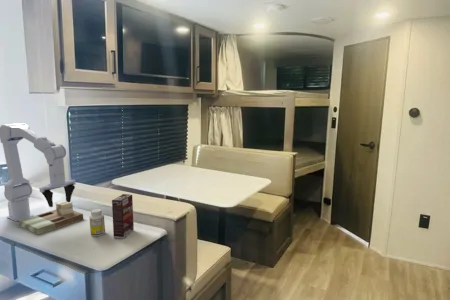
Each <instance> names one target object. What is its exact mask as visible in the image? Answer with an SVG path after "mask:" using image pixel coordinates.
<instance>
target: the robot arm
mask: <svg viewBox="0 0 450 300" xmlns="http://www.w3.org/2000/svg"><path fill="white" fill-rule="evenodd" d="M23 139H25V140H27V141H29V142H30V143H32V144H33V148H35V149H37V151H38V152H39V151H40V152H41V154H43V156H44V158H45V159H46V163H47V165H48V172H49V173H48V174H49V182H50V183H49V184H45V185H43V186H39V187H38V189H39V192H40V193H41V194H42V195H43V196H44V198H45V200H46V202H47V204H48V207H49V208H53V207H54V203H53V202H54V201H53V194H54V192H52V190H56V189H61V188H63V189H64V193H65V201H67V202H71V201H72V195H73V193H74V190H75V188H76V186H75V185H76V179H70V180H66V175H65V162H64V158H65V157H66V156H67V150H66V147H64V146H63V144H55V143H54V141H53V142H52V141H51V140H49V139H48V137H46V136H39V135H37V134H36V133H35V132H34V131H33V130H31V129H30V126H29V125H28V124H26V123H25V122H20V123H9V124H6V123H4V124H0V143H1V144H2V148H3V153H4V157H5V158H4V159H5V164H6V167H7V169H6V170H7V173H8V177H9V178H8V179H9V180H8V181H7V182H6V183H5V184H4V186H3V187H4V191H3V193H4V198H5V199H6V200H7V202H8V203H7V209H8V210H7V211H8V215H7V216H6V218H7V219H10V220H12V221H14V222H19V220H22V219H26V218H29V217H32V216H35V215H34V214H32V213H31V210H30V208H31V207H30V199H29V198H31V195H32V194H33V187H32V185H31V184H30V180H29V179H27V178H25V177H24V174H23V169H22V163H21V158H20V154H19V148H18V144H19V142H20V141H22V140H23Z"/></svg>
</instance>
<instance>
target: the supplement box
mask: <svg viewBox="0 0 450 300" xmlns="http://www.w3.org/2000/svg"><path fill="white" fill-rule="evenodd" d="M133 205H134V204H133V194H129V193H122V194H121V195H120V196H119V195H118V196H117V197H115V198H114V199H112V200H111V207H112V208H111V209H112V210H111V211H112V228H113V238H114V239H119V240H120V239H121V240H123V239H126V238H127V237H128V236H129V235H130V234H131V233H132V232H134V231H135V228H134V227H135V226H134V206H133Z"/></svg>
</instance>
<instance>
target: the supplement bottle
mask: <svg viewBox="0 0 450 300" xmlns="http://www.w3.org/2000/svg"><path fill="white" fill-rule="evenodd" d="M102 211H103V210H102V209H100V208H95V209H92V210H91V211H90V215H89V229H90V230H89V231H90V236H92V237H101V236H103V235H105V233H106V225H105V224H106V223H105V222H106V221H105V214H103V212H102Z"/></svg>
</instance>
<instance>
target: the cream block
mask: <svg viewBox="0 0 450 300" xmlns="http://www.w3.org/2000/svg"><path fill="white" fill-rule="evenodd" d="M55 210H56V211H57V214H59V215H62V216H64V215H67V214H70V213H73V211H74V208H73V201H70V202H67V201H66V200H62V201H59V202H56V203H55Z"/></svg>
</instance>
